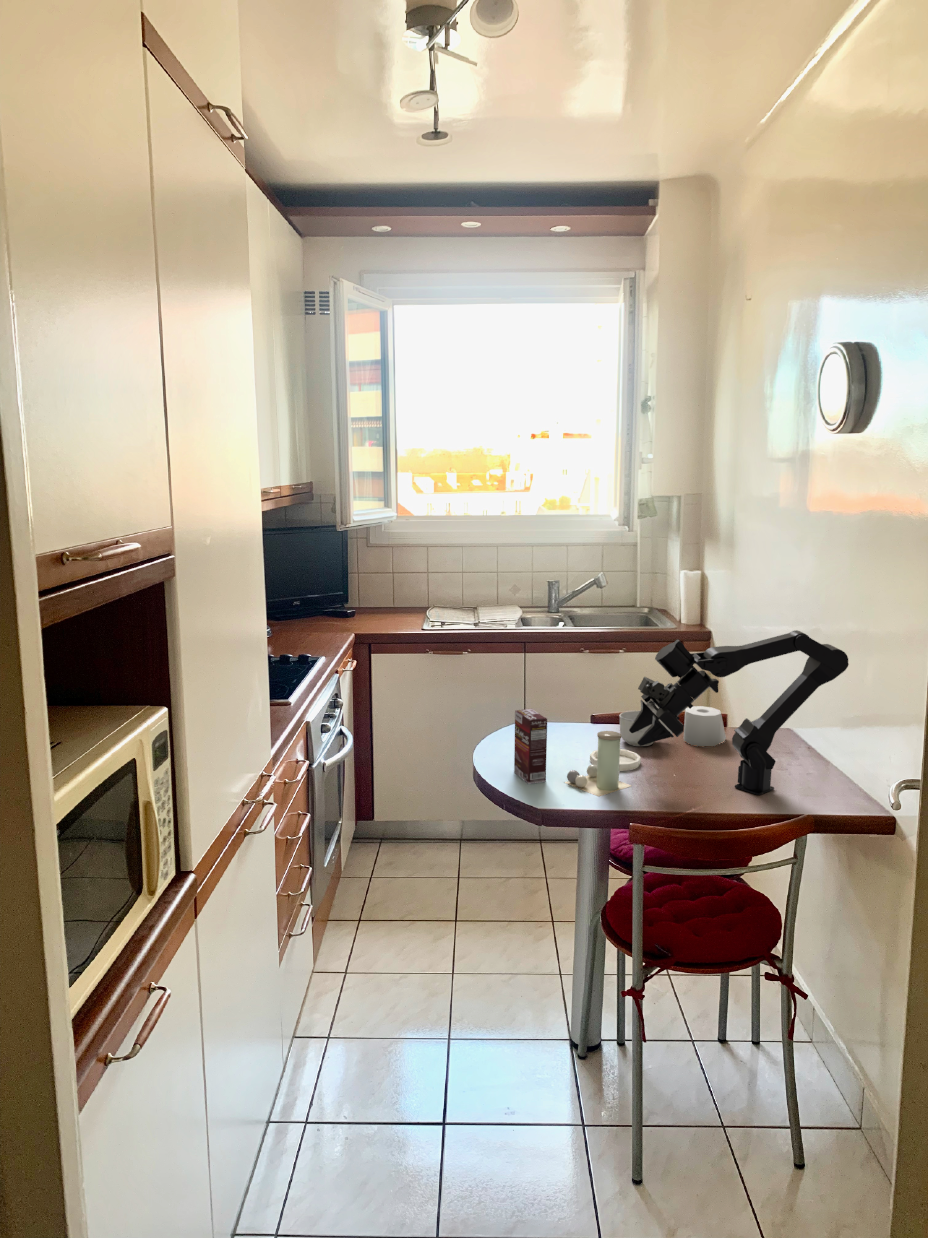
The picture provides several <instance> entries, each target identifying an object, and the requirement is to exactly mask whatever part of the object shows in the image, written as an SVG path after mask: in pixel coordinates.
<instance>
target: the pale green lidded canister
mask: <svg viewBox="0 0 928 1238" xmlns="http://www.w3.org/2000/svg"><path fill="white" fill-rule="evenodd" d="M596 735H597V736H596V737H597V750H598V756H597V784H596V787H597V788H598V789H601V790H605V791H613V790H617V789H618V786H619V781H620V771H619V762H620V749H621V739H622V737H621V734H620V732H618V731H613V730H601V731H598V732H597V734H596Z"/></svg>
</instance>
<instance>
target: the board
mask: <svg viewBox="0 0 928 1238" xmlns="http://www.w3.org/2000/svg"><path fill="white" fill-rule="evenodd" d="M584 776H585V777H586V778H587V785H586V786H585V787H582V788H581V787H578V786H577V785H576V783H571V782H569V781H568V780H567V781H565V782H563V783H564V784H566V785H569V786H572V787H574V788H576V789H579V790H582V791H584V792H586V793H588V794H590V795H591V794H592V795H594V796H596V797H598V798H600V797H603V796H606V795H608V794H611V793H614V792H615V793H616V792H618V791H621V790H624V789H629V788H630V787H632V785H631V784H628V783H626V782H623V781H620V780H619V786H618V789H617V790H613V791H605V790H601V789H598V788H597V787H596V784H597V777H590V776H589V775H588V774H587V775H584Z"/></svg>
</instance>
